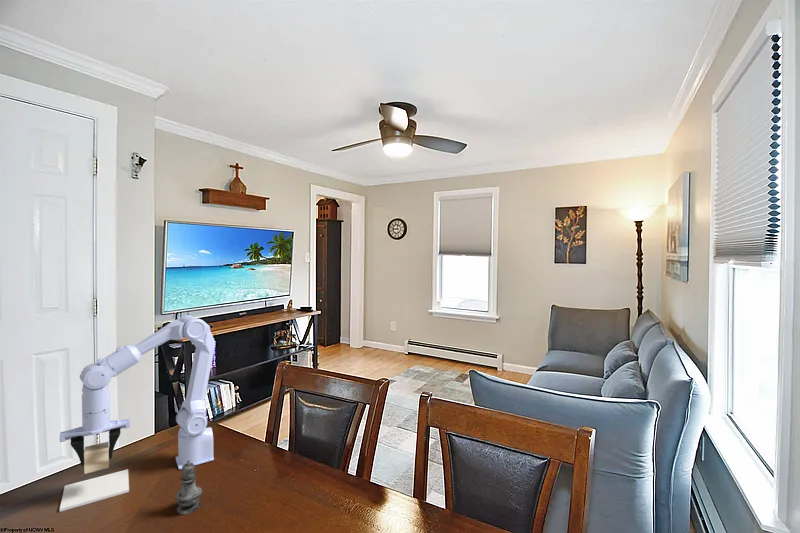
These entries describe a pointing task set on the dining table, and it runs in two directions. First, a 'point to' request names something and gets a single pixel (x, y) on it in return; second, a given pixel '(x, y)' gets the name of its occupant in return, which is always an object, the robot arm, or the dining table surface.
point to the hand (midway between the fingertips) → (96, 460)
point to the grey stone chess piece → (188, 490)
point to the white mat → (94, 490)
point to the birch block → (96, 457)
